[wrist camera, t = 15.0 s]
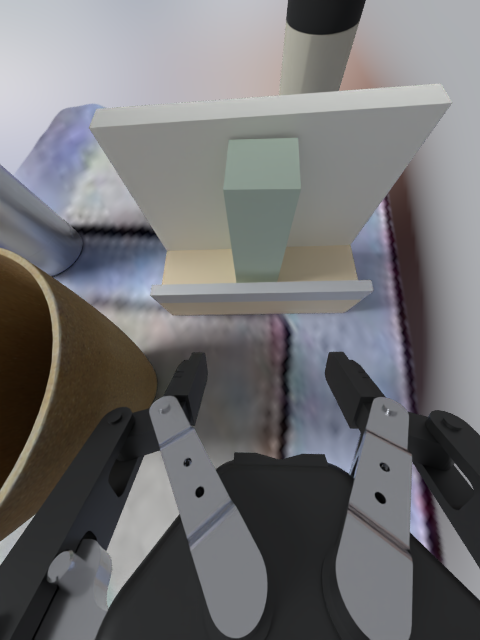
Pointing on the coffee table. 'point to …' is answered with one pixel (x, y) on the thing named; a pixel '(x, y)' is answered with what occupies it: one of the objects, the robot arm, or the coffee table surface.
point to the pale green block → (260, 204)
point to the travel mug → (317, 44)
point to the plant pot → (55, 383)
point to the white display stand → (314, 200)
